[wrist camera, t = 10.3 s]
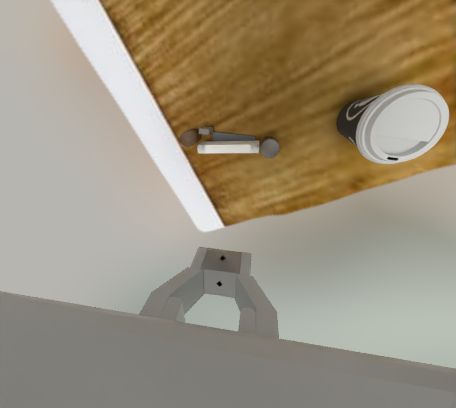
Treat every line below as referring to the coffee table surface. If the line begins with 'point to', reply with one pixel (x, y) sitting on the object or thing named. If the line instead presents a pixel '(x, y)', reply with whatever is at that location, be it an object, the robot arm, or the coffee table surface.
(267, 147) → the hinge post
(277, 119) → the coffee table surface
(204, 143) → the white long block
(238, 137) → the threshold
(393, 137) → the coffee cup
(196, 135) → the brown rounded cylinder
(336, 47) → the coffee table surface
